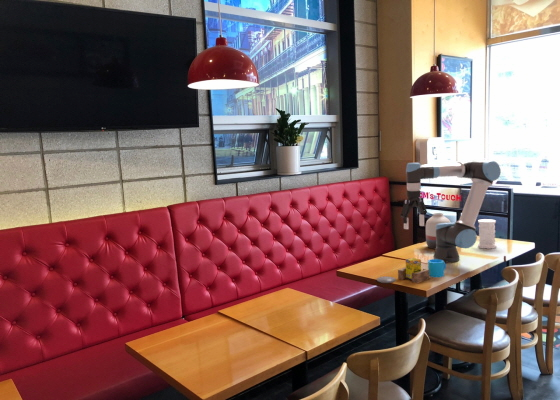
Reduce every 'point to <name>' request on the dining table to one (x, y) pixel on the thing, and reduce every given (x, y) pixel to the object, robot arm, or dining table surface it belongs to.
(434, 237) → the vase
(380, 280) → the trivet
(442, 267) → the mug
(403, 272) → the pocket
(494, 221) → the decorative container
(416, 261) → the supplement box
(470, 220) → the robot arm
